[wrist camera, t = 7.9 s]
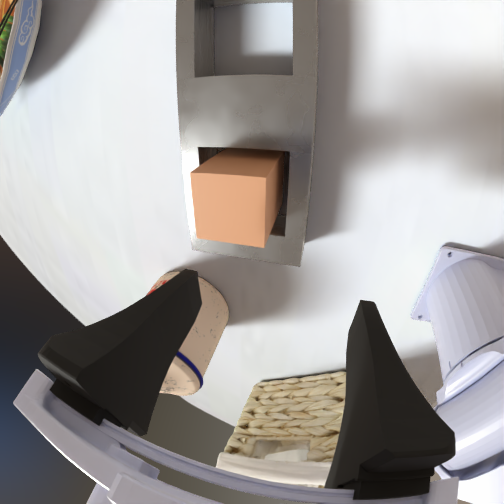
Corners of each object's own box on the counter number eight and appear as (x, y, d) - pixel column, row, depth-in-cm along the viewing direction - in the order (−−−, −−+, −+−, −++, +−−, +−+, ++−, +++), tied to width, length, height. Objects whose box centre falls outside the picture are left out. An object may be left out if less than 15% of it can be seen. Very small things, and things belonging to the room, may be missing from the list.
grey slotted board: (198, -14, 11) (177, -25, 9) (316, -22, 10) (314, -40, 7) (207, 230, 23) (192, 249, 20) (304, 243, 21) (300, 266, 19)
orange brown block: (284, 150, 17) (265, 177, 13) (282, 203, 20) (264, 247, 15) (228, 146, 18) (189, 172, 13) (229, 197, 21) (196, 238, 16)
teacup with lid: (194, 255, 25) (125, 355, 15) (249, 321, 28) (211, 422, 19) (129, 288, 31) (74, 359, 21) (176, 338, 34) (136, 410, 25)
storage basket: (388, 424, 36) (381, 498, 25) (307, 433, 44) (292, 498, 32) (356, 359, 28) (344, 484, 16) (241, 375, 35) (206, 469, 24)
